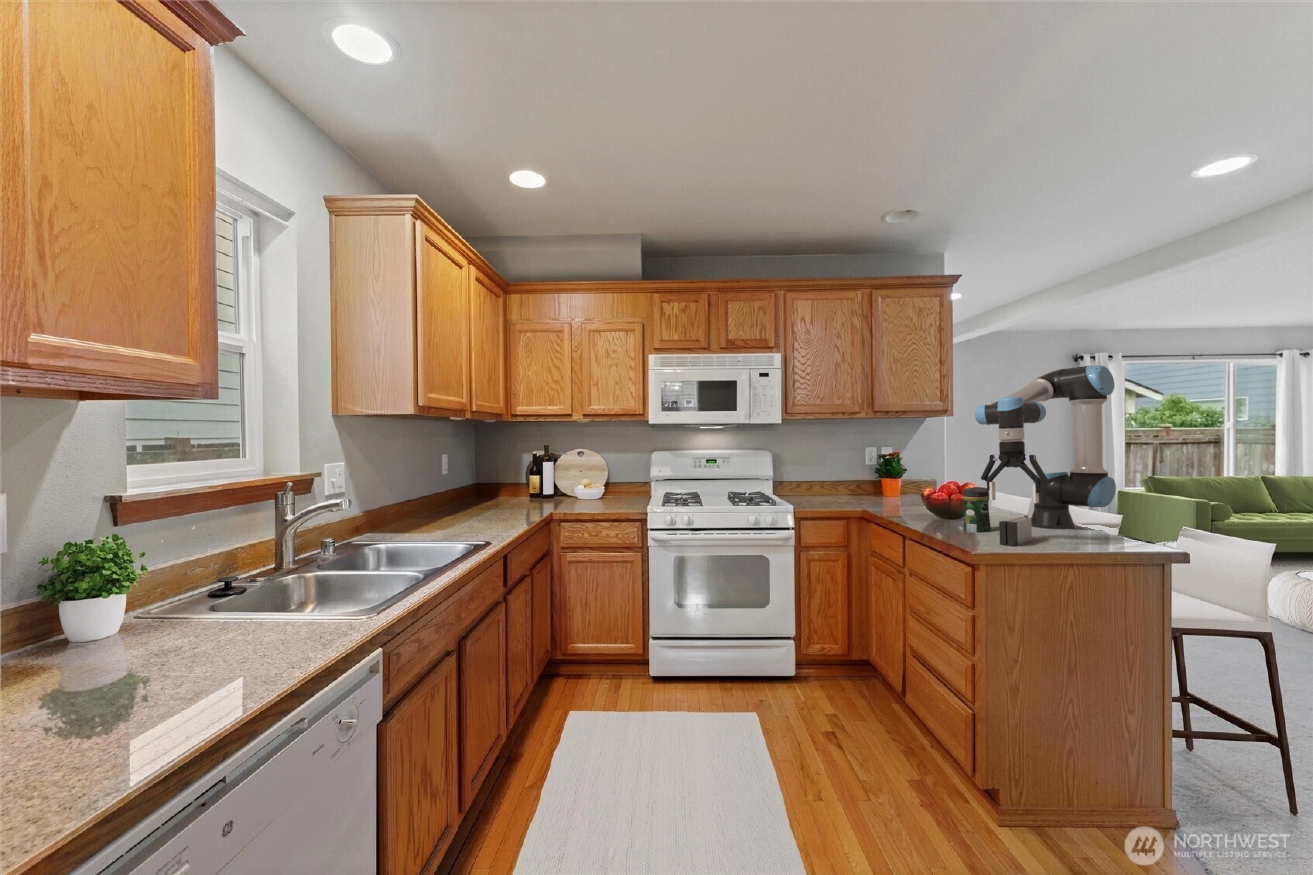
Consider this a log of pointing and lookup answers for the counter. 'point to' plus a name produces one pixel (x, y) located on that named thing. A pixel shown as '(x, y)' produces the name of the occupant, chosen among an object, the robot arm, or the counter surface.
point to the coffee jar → (976, 510)
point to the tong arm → (1005, 530)
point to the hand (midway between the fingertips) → (1013, 501)
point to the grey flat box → (1019, 531)
